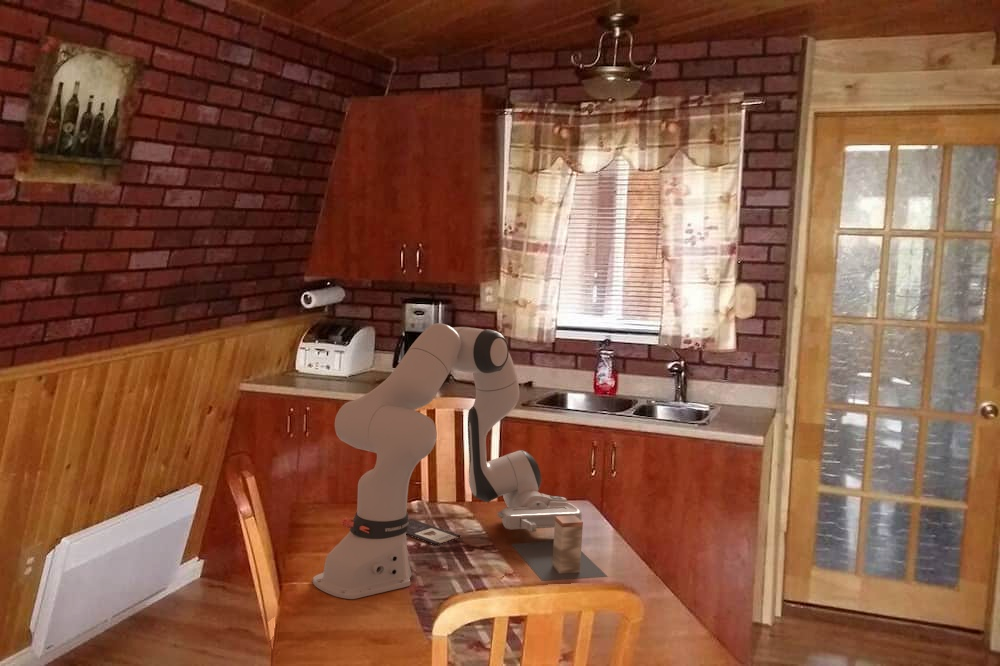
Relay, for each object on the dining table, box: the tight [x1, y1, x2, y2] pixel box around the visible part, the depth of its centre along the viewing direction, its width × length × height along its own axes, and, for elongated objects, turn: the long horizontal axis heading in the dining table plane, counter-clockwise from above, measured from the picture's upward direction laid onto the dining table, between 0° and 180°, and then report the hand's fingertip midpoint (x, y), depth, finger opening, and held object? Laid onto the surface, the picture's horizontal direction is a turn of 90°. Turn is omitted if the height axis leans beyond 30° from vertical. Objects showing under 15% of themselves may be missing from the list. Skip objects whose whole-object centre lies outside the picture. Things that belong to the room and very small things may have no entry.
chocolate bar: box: [406, 518, 461, 546], centre depth 236 cm, size 9×1×18 cm
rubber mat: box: [510, 541, 608, 582], centre depth 219 cm, size 24×16×1 cm, turn 17°
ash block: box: [552, 515, 584, 573], centre depth 213 cm, size 5×5×12 cm
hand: (551, 527), depth 223 cm, fingers open, 8 cm apart
